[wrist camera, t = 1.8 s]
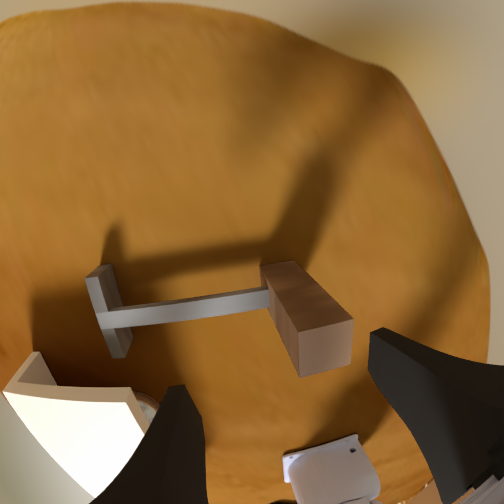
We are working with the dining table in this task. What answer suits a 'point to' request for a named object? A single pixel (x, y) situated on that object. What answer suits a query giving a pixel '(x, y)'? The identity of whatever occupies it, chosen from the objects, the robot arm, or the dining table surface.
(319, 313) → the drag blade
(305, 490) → the robot arm
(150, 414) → the grey round disc
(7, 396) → the white bridge block
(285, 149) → the dining table surface
